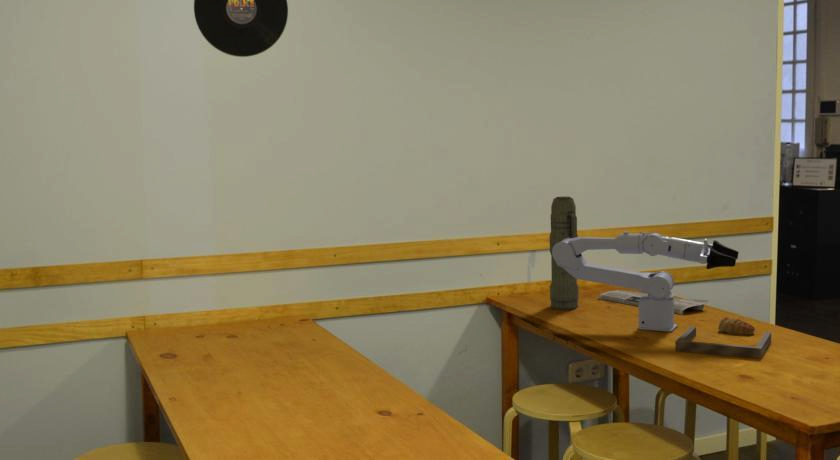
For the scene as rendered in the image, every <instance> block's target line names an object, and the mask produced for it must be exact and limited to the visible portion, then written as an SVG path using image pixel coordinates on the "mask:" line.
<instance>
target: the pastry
mask: <svg viewBox="0 0 840 460" xmlns="http://www.w3.org/2000/svg"><path fill="white" fill-rule="evenodd" d="M718 330H719V331H720V332H721V333H725V332H726V333H727V334H731V335H738V336H740V335H741V336H745V335H749V336H750V335H753V334H754V332H755V330H756V328H755V326H753V325H752V324H750V323H748V322H747V321H743V320H741V319H739V318H729V317H726V316H725V317H722V319H721V320H720V322H719V325H718Z"/></svg>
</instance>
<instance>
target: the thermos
mask: <svg viewBox="0 0 840 460" xmlns="http://www.w3.org/2000/svg"><path fill="white" fill-rule="evenodd" d="M576 209H577V207H576V203H575V200H574V198H572V197H571V196H555V198H553V200H552V202H551V206H550V233H549V253H550V255H551V257H550V258H551V259H550V260H551V261H550V262H551V263H550V264H551V265H550V266H551V283H550V286H549V300H550V308H551V309H553V310H561V311H563V310H564V311H567V310H570V311H571V310H575V309H578V308H579V299H580V298H579V292H580V291H579V289H580V287H579V284H578V281H577V280H578V279H576V278H574V277H573V276H572V275H571V274H570V273H568V272H567V271H566V270H565V269H564V268H562V267H560V266H558V265H557V263H556V262H555V260H554V258H553V256H552V249H553V247H554V245H555V244H557V243H559V242H561V241H562V240H563V239H566V238H575V237H579V235H578V217H577V214H576V213H577V211H576Z"/></svg>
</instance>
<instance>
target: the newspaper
mask: <svg viewBox="0 0 840 460" xmlns="http://www.w3.org/2000/svg"><path fill="white" fill-rule="evenodd" d="M641 297H648V294H647V293H642V292H636V291H631V290H621V289H617V290H609V291H606V292H603V293H601V294H599V295H598V300H603V301H607V302H614V303H619V304H625V305H630V306H635V307H639V301H640V298H641ZM708 302H709V300H708V299H692V298H679V297H678V298H677V297H676V298H675V297H674V314H676V315H677V314H679V315H684V314H685V310H686V309H691V310H695V311H696V310H697V311H703V309H704V308H705V304H707V303H708Z"/></svg>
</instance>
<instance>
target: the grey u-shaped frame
mask: <svg viewBox="0 0 840 460" xmlns="http://www.w3.org/2000/svg"><path fill="white" fill-rule="evenodd" d="M696 336H697V326H690V325H689V327H688V328H687V329H686V330H685V331H684V332H683V334H681V335H680V336H679V337H678V338H677V340H675V342H674V343H675V348H674V349H675V350H674V351H675V352H683V353H693V354H694V353H695V354H708V355H717V356H718V355H719V356H729V357H740V358H751V359H752V358H753V359H762V358H763V356H764V354H765V353H766V351H767V349H768V348H769V346H770V344H771V343H772V332H771V331H770V332H769V331H766V332H764V333H763V335H762V336H761V338H760V339H759V341H758V343H757V344H756V346H753V345H742V344H741V345H739V344H725V343H718V342H717V343H716V342H715V343H713V342H703V341H702V342H701V341H693V340H694V339H695V337H696ZM767 347H768V348H767Z"/></svg>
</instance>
